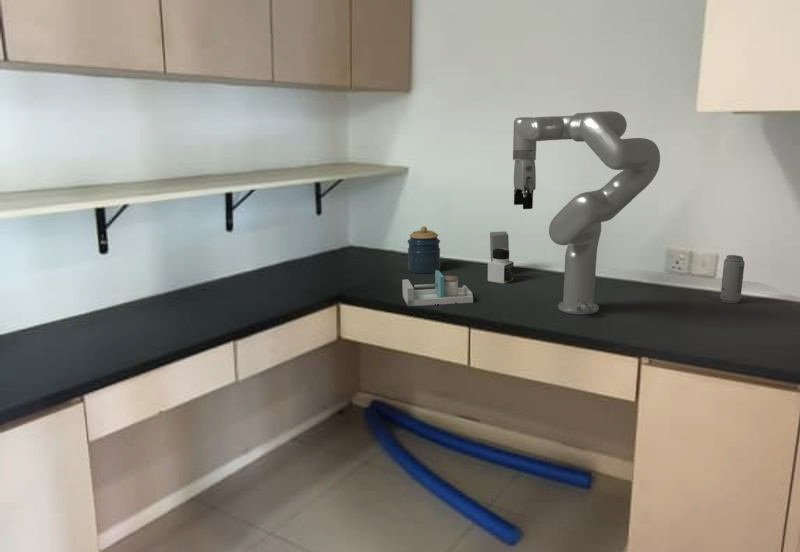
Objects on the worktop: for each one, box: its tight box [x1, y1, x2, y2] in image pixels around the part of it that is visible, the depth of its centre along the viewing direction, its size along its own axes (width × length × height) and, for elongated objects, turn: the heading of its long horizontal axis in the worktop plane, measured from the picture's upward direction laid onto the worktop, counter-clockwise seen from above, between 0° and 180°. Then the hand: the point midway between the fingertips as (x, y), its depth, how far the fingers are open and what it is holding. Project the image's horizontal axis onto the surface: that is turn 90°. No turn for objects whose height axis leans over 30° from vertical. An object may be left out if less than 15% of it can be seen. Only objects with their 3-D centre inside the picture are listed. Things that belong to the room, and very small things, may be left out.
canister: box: [407, 225, 441, 274], centre depth 272 cm, size 13×13×18 cm
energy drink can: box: [719, 254, 745, 304], centre depth 224 cm, size 6×6×15 cm
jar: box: [443, 275, 459, 298], centre depth 233 cm, size 6×6×7 cm
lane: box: [402, 278, 474, 307], centre depth 233 cm, size 12×22×6 cm, turn 98°
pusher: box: [413, 270, 445, 298], centre depth 232 cm, size 9×9×8 cm
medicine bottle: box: [487, 248, 514, 284], centre depth 255 cm, size 7×7×12 cm
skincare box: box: [489, 230, 510, 262], centre depth 267 cm, size 8×7×16 cm
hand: (523, 206), depth 232 cm, fingers open, 9 cm apart
